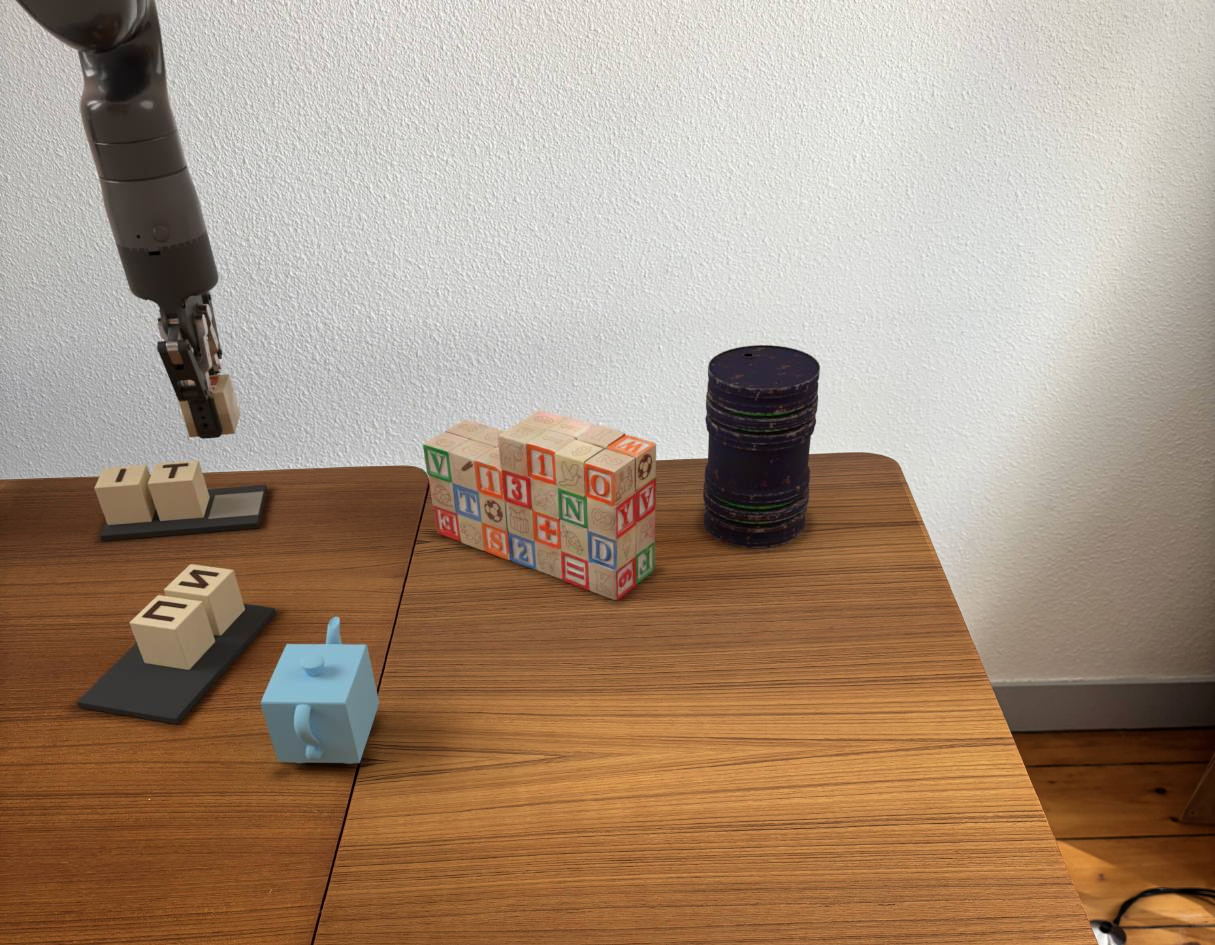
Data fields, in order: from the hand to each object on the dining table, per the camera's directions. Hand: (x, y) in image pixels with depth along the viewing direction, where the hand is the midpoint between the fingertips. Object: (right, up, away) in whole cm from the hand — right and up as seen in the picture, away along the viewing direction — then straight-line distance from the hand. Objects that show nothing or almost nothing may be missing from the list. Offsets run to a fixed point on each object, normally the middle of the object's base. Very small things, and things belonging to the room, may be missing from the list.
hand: (214, 424), depth 107 cm
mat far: (-5, -7, +6) cm, 10 cm away
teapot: (+16, -31, -20) cm, 40 cm away
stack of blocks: (+31, -13, -2) cm, 34 cm away
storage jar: (+51, -9, +1) cm, 52 cm away
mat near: (+2, -24, -12) cm, 27 cm away
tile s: (0, 0, 0) cm, 0 cm away
